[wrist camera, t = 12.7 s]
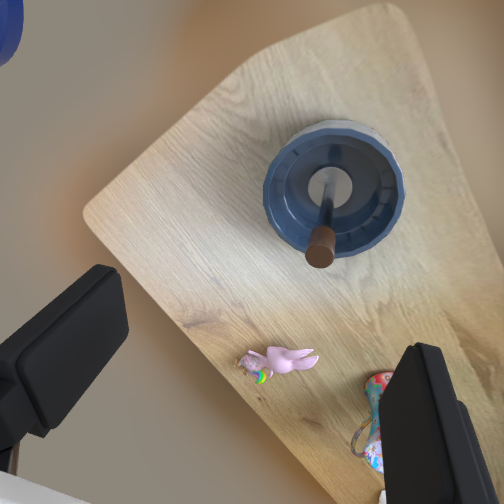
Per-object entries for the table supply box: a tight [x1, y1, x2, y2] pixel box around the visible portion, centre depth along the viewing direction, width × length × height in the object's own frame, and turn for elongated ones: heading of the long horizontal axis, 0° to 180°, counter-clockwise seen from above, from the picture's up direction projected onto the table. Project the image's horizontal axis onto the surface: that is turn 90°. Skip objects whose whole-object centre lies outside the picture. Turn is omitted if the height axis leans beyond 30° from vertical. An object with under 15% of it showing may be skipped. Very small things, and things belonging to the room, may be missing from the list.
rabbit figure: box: [233, 346, 318, 384], centre depth 49 cm, size 6×6×15 cm
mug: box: [351, 372, 394, 474], centre depth 45 cm, size 12×9×11 cm
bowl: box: [263, 120, 405, 259], centre depth 33 cm, size 13×13×5 cm
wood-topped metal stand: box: [305, 164, 353, 268], centre depth 28 cm, size 5×5×15 cm
